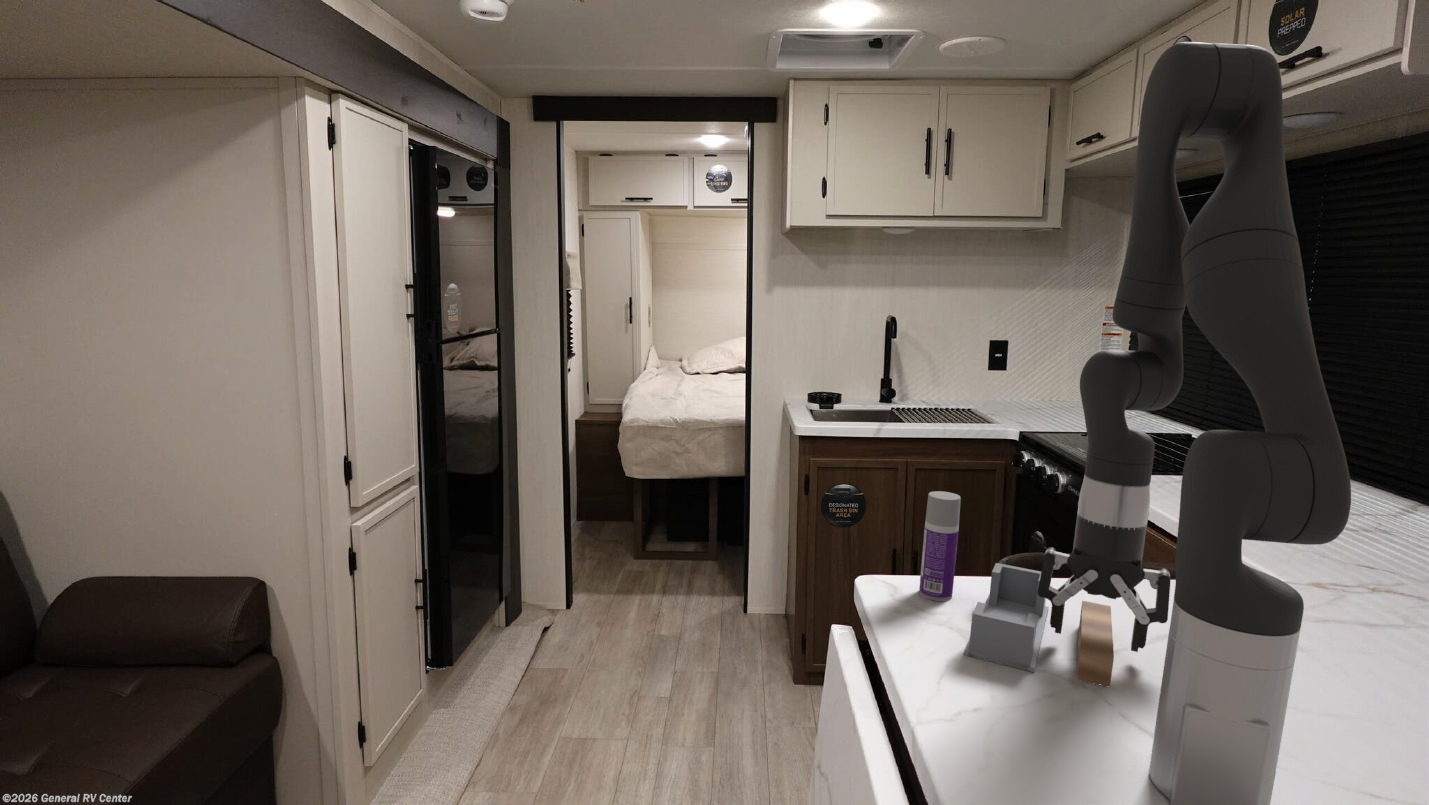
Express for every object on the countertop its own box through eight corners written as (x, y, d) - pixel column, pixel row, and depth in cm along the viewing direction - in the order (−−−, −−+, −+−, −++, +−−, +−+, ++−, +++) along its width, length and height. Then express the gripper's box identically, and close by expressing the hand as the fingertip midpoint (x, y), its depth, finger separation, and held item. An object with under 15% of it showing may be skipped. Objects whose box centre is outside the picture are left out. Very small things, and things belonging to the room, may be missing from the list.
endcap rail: (1034, 672, 90) (1039, 628, 89) (964, 655, 93) (968, 612, 93) (1048, 611, 107) (1052, 573, 106) (988, 598, 111) (992, 562, 110)
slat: (1109, 689, 87) (1113, 657, 86) (1076, 682, 89) (1080, 649, 88) (1107, 634, 101) (1110, 606, 101) (1078, 628, 103) (1082, 600, 102)
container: (959, 599, 110) (968, 498, 108) (932, 603, 108) (941, 501, 106) (938, 586, 115) (947, 490, 112) (912, 590, 113) (920, 492, 110)
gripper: (1045, 512, 92) (1031, 637, 95) (1182, 535, 86) (1162, 669, 88) (1051, 497, 99) (1037, 615, 101) (1178, 517, 92) (1160, 642, 95)
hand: (1095, 640), depth 95 cm, fingers open, 8 cm apart
